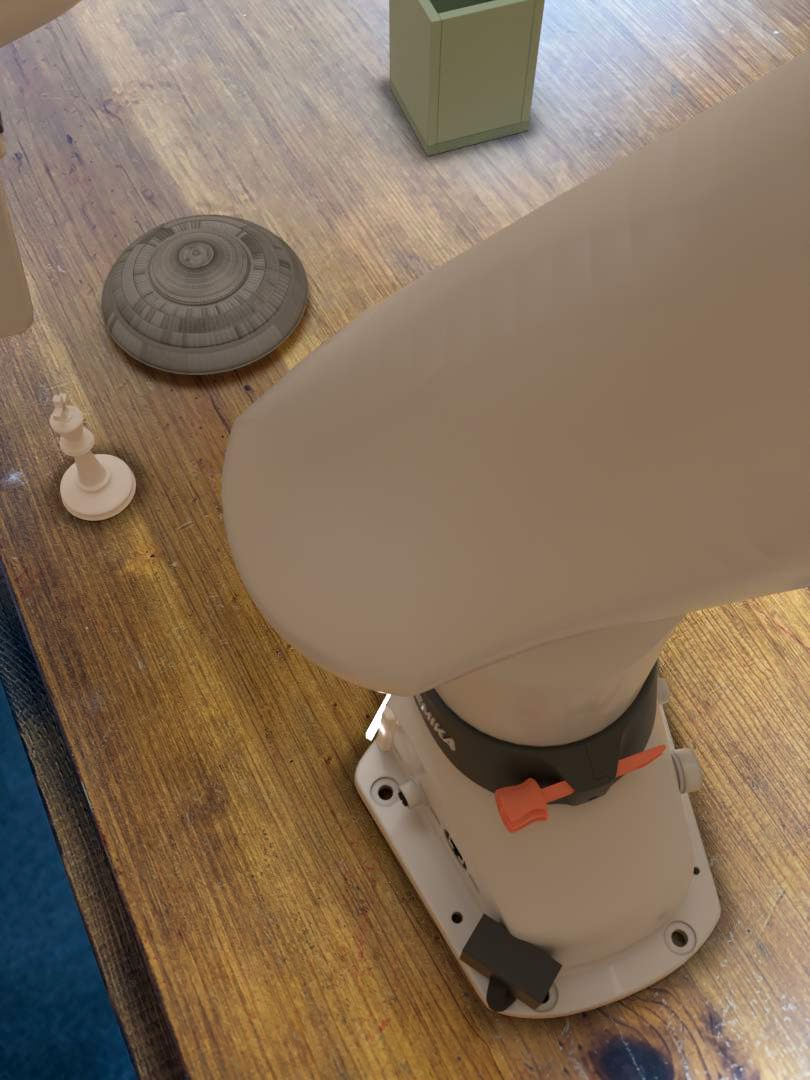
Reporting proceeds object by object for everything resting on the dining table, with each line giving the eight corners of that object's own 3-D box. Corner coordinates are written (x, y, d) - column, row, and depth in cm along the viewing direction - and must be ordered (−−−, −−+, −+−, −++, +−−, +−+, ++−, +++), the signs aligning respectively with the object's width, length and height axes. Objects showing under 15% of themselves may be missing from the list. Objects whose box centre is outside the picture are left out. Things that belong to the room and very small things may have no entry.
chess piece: (143, 461, 72) (108, 368, 63) (126, 524, 70) (87, 436, 61) (71, 455, 72) (26, 361, 63) (53, 517, 70) (3, 429, 61)
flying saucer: (81, 269, 80) (61, 214, 76) (266, 210, 84) (258, 153, 79) (142, 415, 74) (125, 365, 69) (341, 345, 77) (337, 293, 72)
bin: (545, -5, 78) (431, 22, 76) (528, 130, 88) (427, 156, 87) (498, -73, 82) (388, -49, 80) (486, 64, 92) (389, 87, 91)
